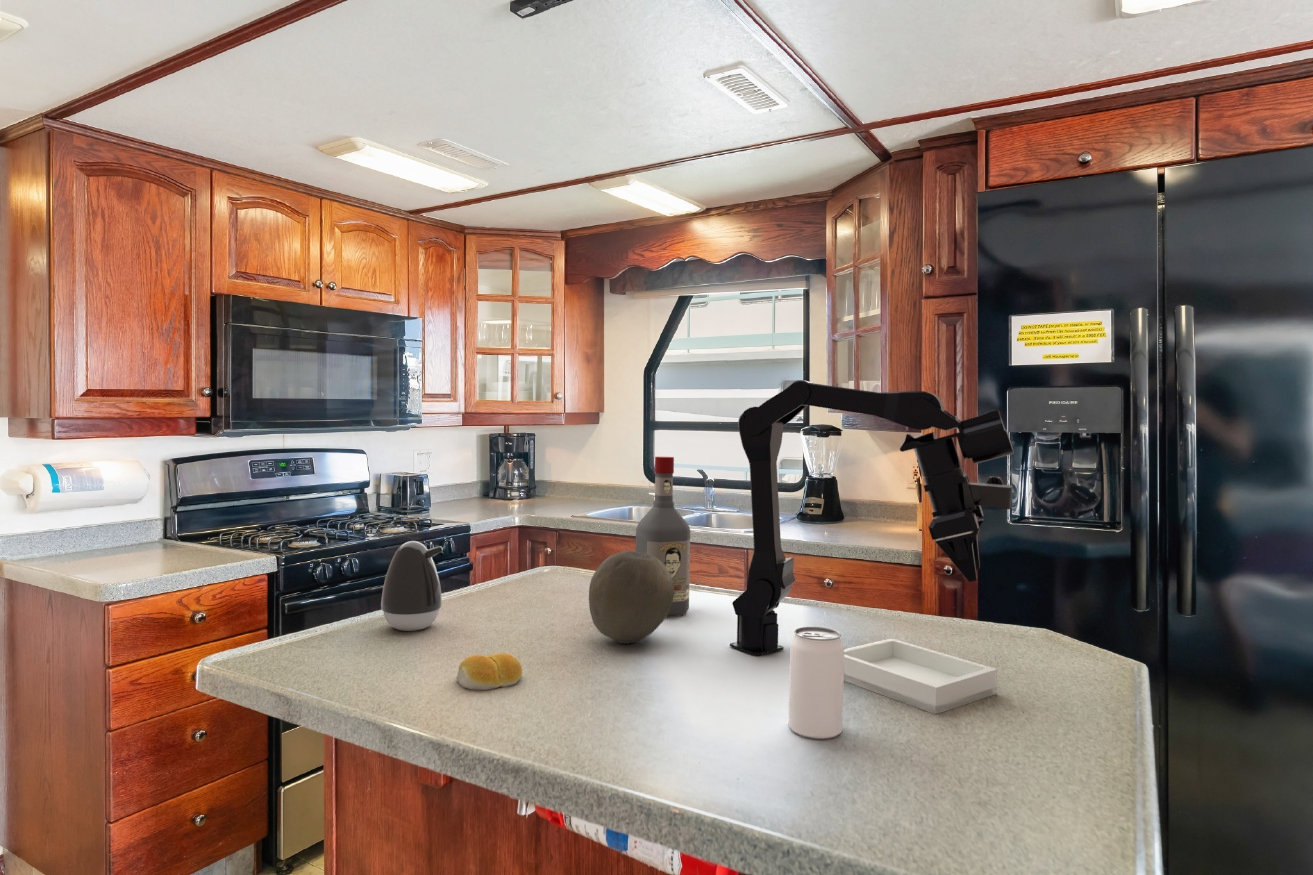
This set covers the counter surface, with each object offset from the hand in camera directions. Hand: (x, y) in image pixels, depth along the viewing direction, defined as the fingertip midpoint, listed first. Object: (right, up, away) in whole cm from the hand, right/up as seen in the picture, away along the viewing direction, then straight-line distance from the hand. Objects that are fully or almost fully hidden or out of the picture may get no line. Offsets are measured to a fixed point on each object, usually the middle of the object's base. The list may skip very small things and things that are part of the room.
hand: (974, 575), depth 117 cm
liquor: (-46, -14, +38) cm, 61 cm away
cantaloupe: (-51, -14, +18) cm, 56 cm away
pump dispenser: (-90, -13, +23) cm, 94 cm away
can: (-27, -16, -19) cm, 37 cm away
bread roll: (-71, -15, -3) cm, 72 cm away
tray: (-10, -15, -2) cm, 18 cm away
